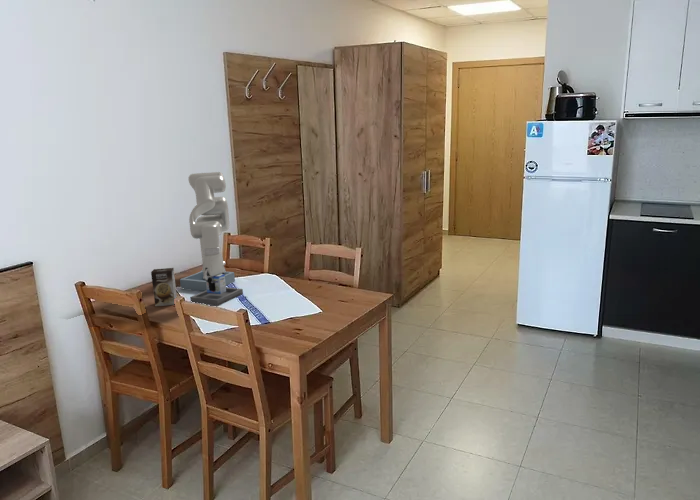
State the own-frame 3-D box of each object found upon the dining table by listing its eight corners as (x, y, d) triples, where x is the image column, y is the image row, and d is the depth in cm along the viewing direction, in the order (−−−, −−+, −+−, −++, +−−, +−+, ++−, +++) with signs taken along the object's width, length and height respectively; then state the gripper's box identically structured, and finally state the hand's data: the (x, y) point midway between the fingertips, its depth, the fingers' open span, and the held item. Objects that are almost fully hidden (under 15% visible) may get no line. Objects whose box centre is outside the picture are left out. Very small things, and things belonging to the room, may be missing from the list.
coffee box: (154, 306, 243) (150, 272, 239) (157, 302, 249) (153, 268, 246) (175, 304, 244) (171, 270, 241) (177, 300, 251) (173, 267, 247)
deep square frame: (206, 278, 286) (205, 269, 285) (235, 281, 277) (234, 272, 276) (181, 288, 269) (179, 279, 268) (210, 292, 261) (209, 282, 260)
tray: (216, 291, 262) (215, 286, 262) (242, 293, 255) (242, 288, 255) (190, 302, 247) (190, 297, 246) (218, 305, 240) (217, 300, 239)
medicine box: (206, 293, 250) (204, 275, 248) (212, 290, 254) (210, 272, 252) (221, 294, 247) (219, 276, 245) (226, 291, 251) (224, 273, 249)
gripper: (217, 246, 255) (221, 283, 259) (193, 254, 240) (197, 293, 244) (230, 247, 252) (234, 284, 256) (206, 255, 237) (210, 295, 241)
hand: (216, 288), depth 250 cm, fingers closed on medicine box, 4 cm apart
